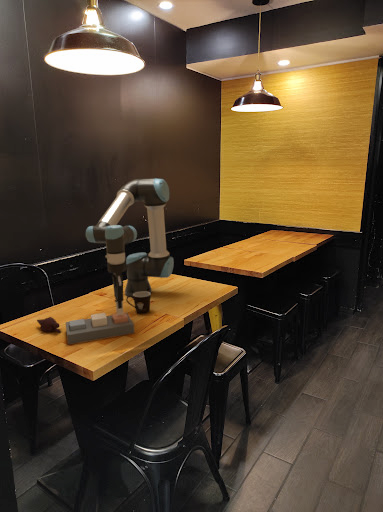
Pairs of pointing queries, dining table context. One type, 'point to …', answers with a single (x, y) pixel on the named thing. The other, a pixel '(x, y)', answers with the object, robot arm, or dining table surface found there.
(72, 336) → the key panel
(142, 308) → the coffee mug
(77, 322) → the slate key
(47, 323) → the dark brown irregular piece
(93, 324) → the white key
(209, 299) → the dining table surface
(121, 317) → the terracotta key
